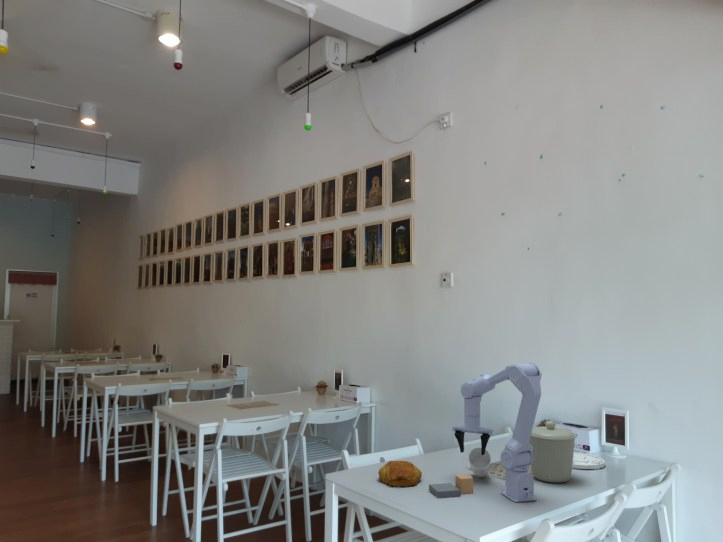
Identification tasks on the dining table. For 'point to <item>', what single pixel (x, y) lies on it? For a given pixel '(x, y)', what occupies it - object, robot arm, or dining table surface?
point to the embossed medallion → (587, 461)
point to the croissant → (400, 473)
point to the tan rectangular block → (464, 483)
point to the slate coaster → (444, 490)
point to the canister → (552, 453)
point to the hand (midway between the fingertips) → (472, 453)
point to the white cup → (479, 462)
